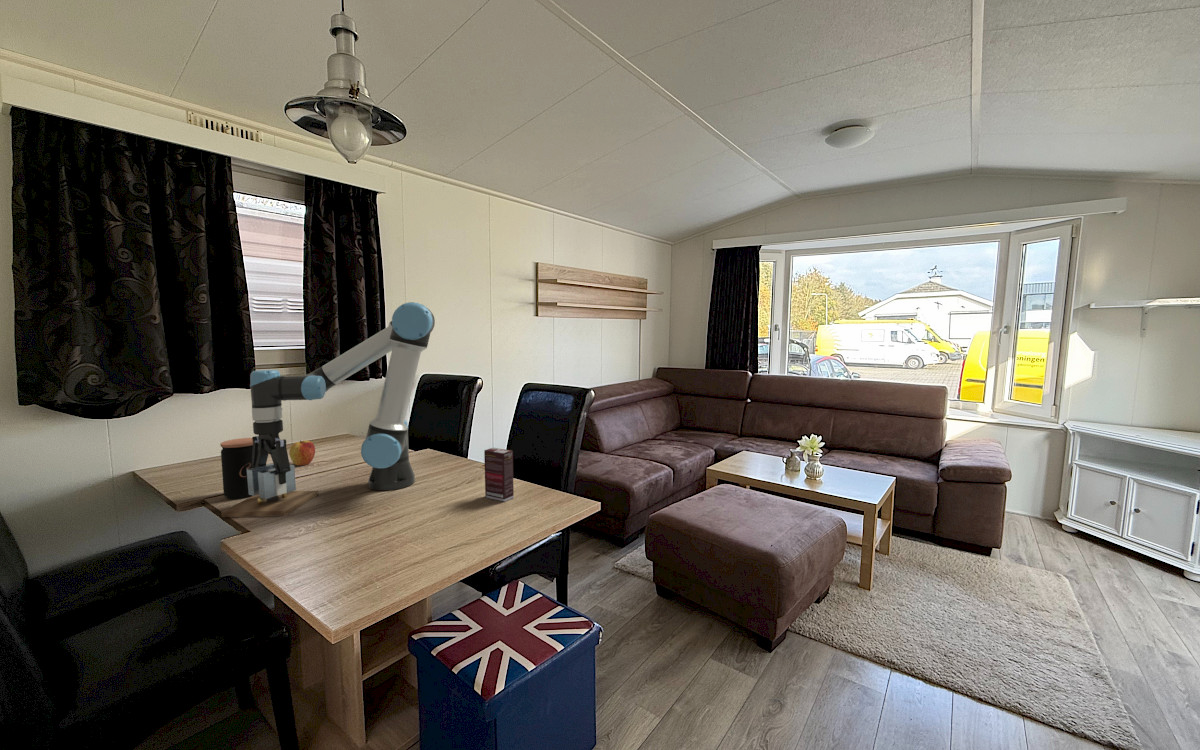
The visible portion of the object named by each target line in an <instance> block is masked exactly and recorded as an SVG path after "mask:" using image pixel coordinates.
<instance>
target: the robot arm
mask: <svg viewBox="0 0 1200 750" xmlns="http://www.w3.org/2000/svg"><path fill="white" fill-rule="evenodd" d="M434 327H435V316H434V314H433V312H432V311H431V310H430V309H429V308H428V307H427V306H425V305H424V304H421V303H419V302H414V301H410V302H406V303H403V304H401V305H399V306H398V307H397V308H396V309H395V310H394V312H393V313H392V316H391V320H390V321H389V322H388V326H386V327H385V328H384V329H382V330H380V331H378V332H376V333H375V334H374V335H372V336H370V337H369V338H366V339H364V341H362V342H360V343H358V344H357V345H355V346H353V347H352V348H350V349H349V350H347V351H345V352H344V353H342V354H340V355H338V356H336V357H335V358H334V359H332V360H330V361H328V362H327V363H325V364H324V365H322V366H320V367H318V368H317V369H315V370H313V371H311V372H310V373H307V374H303V375H293V376H292V375H291V376H290V375H289V376H287V375H286V376H284V375H281V373H280V371H279V370H277V369H259V370H253V371H252V372H250V375H249V376H250V384H249V387H250V398H251V418H252V421H253V423H252V429H253V430H252V431H253V434H254V435H255V436H252V437H251V438H252V440H253V451H252V467H254V466H255V467H258V466H262V465H267V462H268V458H269V455H270V457H271V460H272V463H273V464H274V466H275V469H276V473H275V474H274V475H275V484H276V495H281V494H284V493H287V488H286V472H288V471H290V470H291V469H290V465H291V463H290V460H289V455H288V454H289V453H288V449H287V439H286V438H285V439H281V438H280V435H279V434H280V433H282V432H283V431H284V421H283V420H282V418H283V407H282V401H283V402H284V401H313V400H315V401H316V400H321V399H323V398H325V395H326V392H328V391H329V390H330V389H331V388H333V387H335V386H336V385H338V384H339V383H341V382H343V381H345V380H346V379H347V378H349V377H351V376H352V375H354V374H356V373H357V372H359V371H361V370H363V369H364V368H366V367H367V366H368V365H370V364H372V363H374V362H376V361H378V360H379V359H381V358H382V357H384V356H386V355H387V354H389V353H390V352H391V354H390V358H389V361H388V366H387V370H386V374H385V380H384V383H383V387H382V392H381V395H380V400H379V404H378V408H377V413H376V416H375V418H374V419H372V420H371V421H370V422H369V425H368V428H367V431H366V435H365V436H366V437H365V439H364V440H363V441H362V444H361V448H360V454H361V458H362V460H363V461H364V462H365V463H366V464H367V465H368V466H370V467H371V471H370V475H369V478H368V488H369V489H371V490H375V491H389V490H390V491H391V490H393V491H394V490H399V489H403V488H407V487H410V486H411V485H413V484H414V483H415V482H416V481H415V480H416V477H415V472H414V470H413V467H412V465H411V463H410V457H409V456H410V455H409V454H410V453H409V451H410V449H409V425H408V421H407V420H406V417H407V412H408V408H409V403H410V400H411V399H410V398H411V396H412V391H413V386H414V383H415V378H416V373H417V371H418V370H417V369H418V364H419V361H420V357H421V353H422V352H424V351H425V350H426V349H428V346H429V340H430V337H431V333H432V331H433V330H434Z"/></svg>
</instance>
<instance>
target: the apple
mask: <svg viewBox="0 0 1200 750" xmlns="http://www.w3.org/2000/svg"><path fill="white" fill-rule="evenodd" d="M288 454H289V455H288V456H289V458H290V459H291V461H292V463H293V464H294V466H298V467H300V466H305V465H309V464H311V463H312V461H313V459H314V458H315V454H316V448H315V445H314V443H313V442H312V441H310V440H299V441H298V442H294V443H293V444H292V445H291V446H290V449H289V453H288Z"/></svg>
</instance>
